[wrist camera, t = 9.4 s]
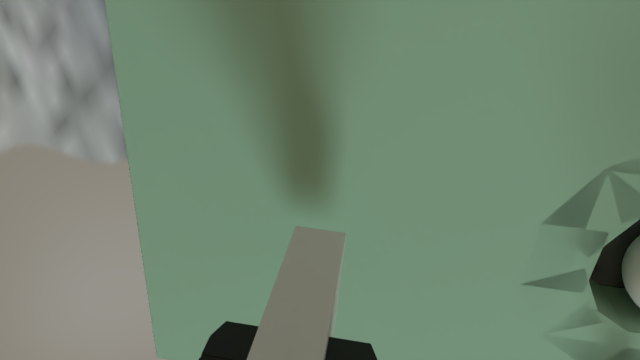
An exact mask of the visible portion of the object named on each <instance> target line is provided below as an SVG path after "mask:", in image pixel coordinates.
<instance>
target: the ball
mask: <svg viewBox="0 0 640 360" xmlns="http://www.w3.org/2000/svg"><path fill="white" fill-rule="evenodd" d="M622 278H623V282H624V285H625V288H626V290H627V292H628V294H629V295H630V297H631V299H632V300H633V301H634V302H635V304H636V305H637V306H638V307H639V308H640V236H638V237H637V238H636V239H635V240H634V241H633V242H632V243H631V244H630V246H629V247H628V249H627V251H626V253H625V255H624V258H623V262H622Z"/></svg>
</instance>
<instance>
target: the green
mask: <svg viewBox="0 0 640 360" xmlns="http://www.w3.org/2000/svg"><path fill="white" fill-rule="evenodd" d="M105 6H106V13H107V20H108V26H109V33H110V40H111V47H112V54H113V61H114V67H115V74H116V81H117V88H118V95H119V102H120V108H121V115H122V122H123V129H124V136H125V143H126V149H127V156H128V163H129V170H130V177H131V184H132V190H133V197H134V204H135V211H136V218H137V225H138V231H139V238H140V245H141V252H142V258H143V266H144V272H145V279H146V286H147V293H148V300H149V306H150V313H151V320H152V327H153V334H154V341H155V347H156V354H157V357H158V358H163V359H168V360H199V358H201V354H202V352H203V350H204V347H205V345H206V343H207V341H208V339H209V337H210V335H211V334H212V333H214V332H215V331H216V330H217V329H218V328H219V327H220V326H221V325H222V324H223V323H225V322H226V321H229V322H235V323H241V324H248V325H254V326H259V324H260V322H261V319H262V316H263V313H264V311H265V308H266V305H267V302H268V300H269V297H270V294H271V292H272V289H273V286H274V283H275V281H276V278H277V275H278V272H279V270H280V267H281V264H282V262H283V259H284V256H285V253H286V251H287V248H288V245H289V242H290V240H291V237H292V234H293V232H294V229H295V226H300V227H307V228H314V229H321V230H328V231H335V232H342V233H346V238H345V247H344V255H343V264H342V273H341V282H340V291H339V299H338V307H337V313H336V319H335V325H334V331H333V337H334V338H340V339H346V340H352V341H358V342H364V343H370V344H371V345H372V348H373V350H374V352H375V355H376V357H377V360H640V308H639V307H638V306H637V305H636V304H635V302H634V301H633V300H632V299H631V297H630V295H629V294H628V292H627V290H626V289H624V288H617V287H611V286H604V285H599V284H598V283H597V282H595V281H594V280H592V279H591V278H590V276H591V274H592V272H593V269H594V267H595V265H596V263H597V260H598V258H599V256H600V253H601V251H602V249H603V247H604V246H605V245H607V244H608V243H609V242H610V241H612V240H613V239H614V238H616V237H617V236H618V235H620V234H621V233H622V232H624V231H625V230H626V229H628V228H629V227H630V226H632V225H633V224H634V223H635V222H637V221H638V220H639V219H640V0H105Z"/></svg>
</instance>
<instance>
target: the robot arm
mask: <svg viewBox="0 0 640 360" xmlns="http://www.w3.org/2000/svg"><path fill="white" fill-rule="evenodd" d="M345 238H346V233H342V232H335V231H328V230H321V229H314V228H307V227H300V226H295V229H294V232H293V234H292V237H291V240H290V242H289V245H288V248H287V251H286V253H285V256H284V259H283V262H282V264H281V267H280V270H279V272H278V275H277V278H276V281H275V283H274V286H273V289H272V292H271V294H270V297H269V300H268V302H267V305H266V308H265V311H264V313H263V316H262V319H261V322H260V324H259V326H254V325H248V324H241V323H235V322H229V321H226V322H225V323H223V324H222V325H221V326H220V327H219V328H218V329H217V330H216V331H215V332H214V333H212V334H211V335H210V337H209V339H208V341H207V343H206V345H205V347H204V350H203V352H202V354H201V358H199V360H377V357H376V355H375V352H374V350H373V348H372V345H371V344H370V343H364V342H358V341H352V340H346V339H340V338H334V337H333V331H334V325H335V319H336V313H337V307H338V299H339V291H340V282H341V273H342V264H343V255H344V247H345Z"/></svg>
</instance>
